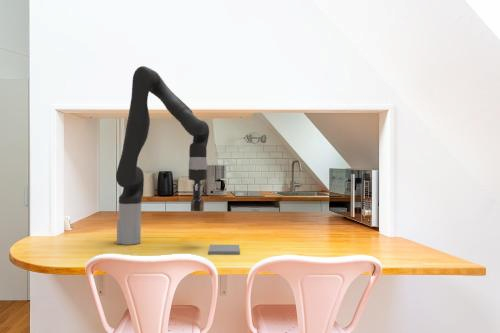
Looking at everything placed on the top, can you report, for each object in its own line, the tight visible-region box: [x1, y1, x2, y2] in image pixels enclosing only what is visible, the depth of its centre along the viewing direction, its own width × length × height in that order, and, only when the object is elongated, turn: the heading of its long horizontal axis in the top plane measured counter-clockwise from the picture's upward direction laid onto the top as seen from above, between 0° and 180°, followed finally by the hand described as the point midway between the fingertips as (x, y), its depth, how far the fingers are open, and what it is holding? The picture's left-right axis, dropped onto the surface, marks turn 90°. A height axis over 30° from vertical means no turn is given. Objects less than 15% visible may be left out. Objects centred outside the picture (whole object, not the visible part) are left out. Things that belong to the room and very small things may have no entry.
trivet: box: [208, 244, 241, 255], centre depth 154 cm, size 12×12×1 cm
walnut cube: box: [190, 197, 205, 212], centre depth 159 cm, size 5×5×5 cm
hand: (197, 209), depth 159 cm, fingers closed on walnut cube, 5 cm apart
